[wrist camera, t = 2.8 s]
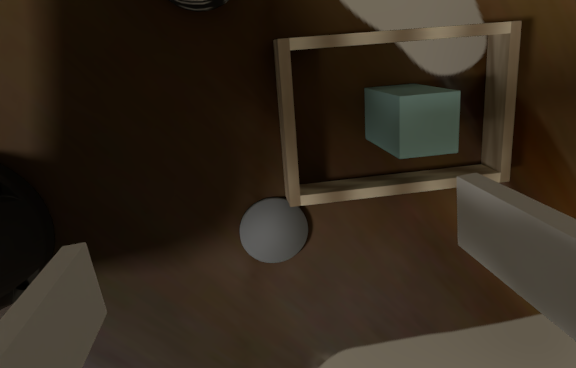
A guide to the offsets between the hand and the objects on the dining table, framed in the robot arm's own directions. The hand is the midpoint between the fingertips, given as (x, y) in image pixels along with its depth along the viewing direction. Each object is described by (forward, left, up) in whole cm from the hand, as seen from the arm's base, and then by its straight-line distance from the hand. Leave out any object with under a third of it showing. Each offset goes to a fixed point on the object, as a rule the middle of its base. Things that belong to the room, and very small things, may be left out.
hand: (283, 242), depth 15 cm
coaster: (+2, -11, -28) cm, 30 cm away
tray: (+14, 0, -28) cm, 31 cm away
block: (+14, 0, -28) cm, 31 cm away
